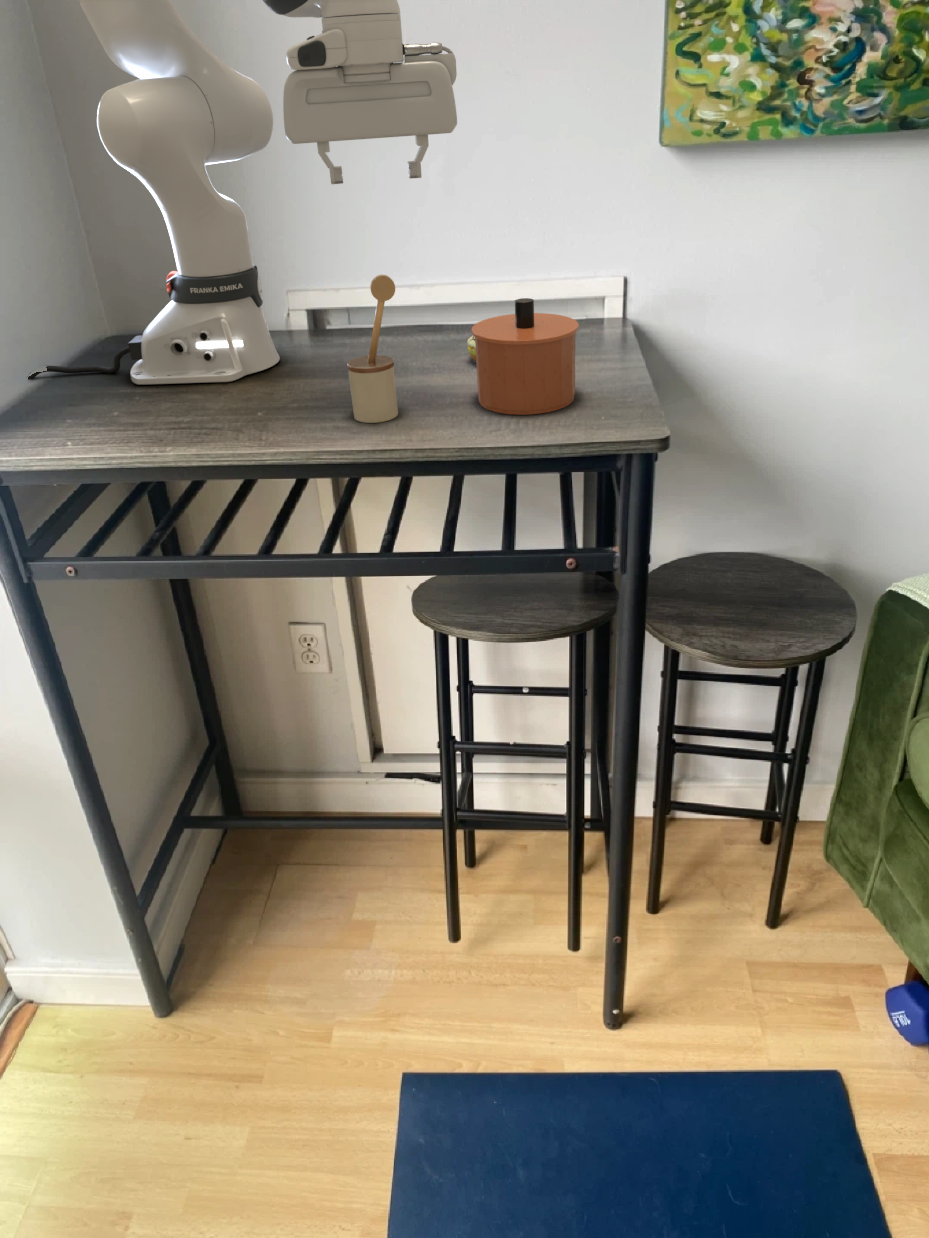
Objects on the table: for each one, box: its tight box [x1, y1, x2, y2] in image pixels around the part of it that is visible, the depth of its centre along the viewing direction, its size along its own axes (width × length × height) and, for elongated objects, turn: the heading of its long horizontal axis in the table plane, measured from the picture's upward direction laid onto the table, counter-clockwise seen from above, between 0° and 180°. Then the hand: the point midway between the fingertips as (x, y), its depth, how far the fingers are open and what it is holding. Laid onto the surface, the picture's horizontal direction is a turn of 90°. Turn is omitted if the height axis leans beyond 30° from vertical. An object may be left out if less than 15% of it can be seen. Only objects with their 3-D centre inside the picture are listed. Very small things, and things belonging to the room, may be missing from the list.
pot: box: [475, 332, 577, 416], centre depth 122 cm, size 13×13×9 cm
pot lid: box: [471, 297, 579, 345], centre depth 119 cm, size 14×14×4 cm
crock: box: [346, 274, 399, 424], centre depth 118 cm, size 7×6×17 cm
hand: (376, 180), depth 114 cm, fingers open, 8 cm apart
